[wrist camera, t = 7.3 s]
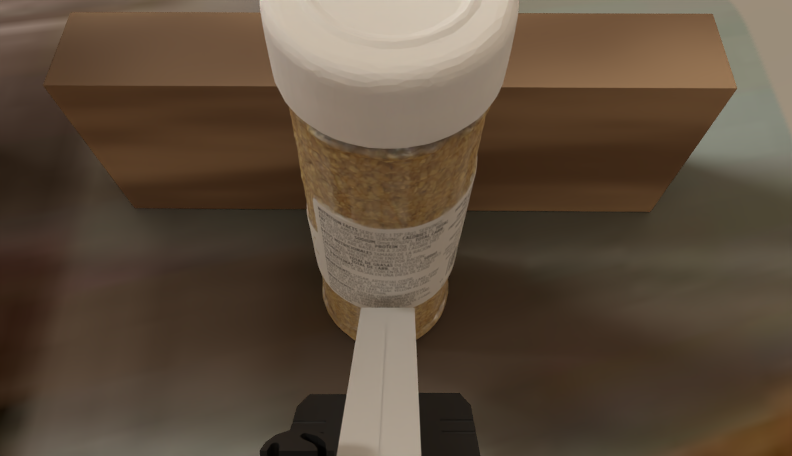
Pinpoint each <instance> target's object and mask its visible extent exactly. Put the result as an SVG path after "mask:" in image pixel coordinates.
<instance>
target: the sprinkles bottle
mask: <svg viewBox="0 0 792 456" xmlns="http://www.w3.org/2000/svg"><path fill="white" fill-rule="evenodd" d="M518 9H519V0H260V12H261V18H262V24H263V30H264V35H265V40H266V45H267V50H268V54H269V59H270V64H271V68H272V73H273V77H274V80H275V83H276V85H277V87H278V89H279V91H280V93H281V95H282V97H283V99H284V101H285V102H286V103H287V105H288V106H289V110H290V115H291V119H292V124H293V131H294V137H295V140H296V144H297V150H298V157H299V165H300V169H301V178H302V181H303V184H304V190H305V196H306V200H307V217H308V222H309V226H310V230H311V235H312V240H313V245H314V250H315V255H316V259H317V263H318V267H319V269H320V272H321V274H322V278H323V285H322V295H323V300H324V303H325V305H326V308H327V311H328V313H329V315H330V316H331V317H332V319H333V321H334V322H335V324H336V325H337V326H338V327H339V328H340V329H341V330H342V331H343V332H345V333H346V334H347V335H348V336H350V337H351V338H352V339H354V340H356V335H357V329H358V323H359V317H360V311H361V308H415V328H416V339H418V338H420V337H421V336H422V335H424V334H425V333H427V332H428V331H429V330H430V329H431V328H432V327H433V326H434V325H435V324H436V322H437V321H438V319H439V318H440V317H441V315H442V312H443V310H444V306H445V305H446V301H447V295H448V277H449V275H450V273H451V271H452V268H453V265H454V262H455V258H456V254H457V250H458V245H459V241H460V237H461V233H462V228H463V224H464V220H465V216H466V211H467V207H468V203H469V199H470V195H471V190H472V186H473V182H474V178H475V174H476V169H477V152H478V148H479V144H480V140H481V134H482V130H483V127H484V123H485V116H486V114H487V113H488V111H489V109H490V106H491V104H492V103H493V101H494V100H495V98H496V97H497V95H498V93H499V91H500V89H501V87H502V85H503V81H504V77H505V73H506V70H507V66H508V62H509V57H510V53H511V49H512V44H513V39H514V34H515V29H516V24H517V18H518Z"/></svg>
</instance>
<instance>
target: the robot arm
mask: <svg viewBox="0 0 792 456" xmlns="http://www.w3.org/2000/svg"><path fill="white" fill-rule="evenodd" d="M260 456H480V452H479V447H478V441H477V436H476V432H475V426H474V422H473V415H472V410H471V405H470V404H469V403H468V402H467V401H466V400H465V399H464V398H463V397H462V395H461V394H460V393H418V372H417V350H416V328H415V308H361V311H360V317H359V323H358V329H357V335H356V341H355V347H354V353H353V359H352V365H351V372H350V378H349V384H348V390H347V394H310V395H309V396H308V397H307V398H306V399H304V400H303V401H302V402H301V403H300V404H299V405H298V406H297V409H296V412H295V416H294V419H293V423H292V426H291V429H290V430H289V431H286V432H283V433H280V434H277V435H275V436H274V437H272V438H271V439H269V440H268V441H266V442H265V444H264V445H263V447H262V448H261V450H260Z"/></svg>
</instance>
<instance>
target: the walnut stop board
mask: <svg viewBox="0 0 792 456" xmlns="http://www.w3.org/2000/svg"><path fill="white" fill-rule="evenodd" d="M43 86H44V87H45V89H46V90H47V91H48V93H49V94H50V95H51V97H52V98H53V99H54V101H55V102H56V103H57V105H58V106H59V107H60V109H61V110H62V111H63V113H64V114H65V115H66V117H67V118H68V120H69V121H70V122H71V124H72V125H73V126H74V128H75V129H76V130H77V132H78V133H79V134H80V136H81V137H82V138H83V140H84V141H85V142H86V144H87V145H88V146H89V148H90V149H91V150H92V152H93V153H94V154H95V156H96V157H97V158H98V160H99V161H100V162H101V164H102V165H103V166H104V168H105V169H106V170H107V172H108V173H109V174H110V176H111V177H112V178H113V180H114V181H115V183H116V184H117V185H118V187H119V188H120V189H121V191H122V192H123V193H124V195H125V196H126V197H127V199H128V200H129V201H130V203H131V204H132V205H133V207H134V208H180V209H307V200H306V196H305V190H304V184H303V181H302V178H301V169H300V165H299V157H298V150H297V144H296V140H295V137H294V131H293V124H292V119H291V115H290V110H289V106H288V105H287V103H286V102H285V101H284V99H283V97H282V95H281V93H280V91H279V89H278V87H277V85H276V83H275V80H274V77H273V73H272V68H271V64H270V59H269V54H268V50H267V45H266V40H265V35H264V30H263V24H262V18H261V13H209V12H70V15H69V18H68V20H67V23H66V26H65V28H64V31H63V34H62V36H61V39H60V42H59V44H58V47H57V49H56V52H55V55H54V57H53V60H52V63H51V65H50V68H49V71H48V73H47V76H46V79H45V81H44V84H43ZM736 89H737V86H736V83H735V80H734V77H733V74H732V71H731V68H730V65H729V62H728V59H727V56H726V53H725V50H724V47H723V44H722V41H721V38H720V35H719V32H718V29H717V26H716V23H715V20H714V17H713V14H574V13H518V18H517V24H516V29H515V34H514V39H513V44H512V49H511V53H510V57H509V62H508V66H507V70H506V73H505V77H504V81H503V85H502V87H501V89H500V91H499V93H498V95H497V97H496V98H495V100H494V101H493V103H492V104H491V106H490V109H489V111H488V113H487V114H486V116H485V123H484V127H483V130H482V134H481V140H480V144H479V148H478V152H477V169H476V174H475V178H474V182H473V186H472V190H471V195H470V199H469V203H468V207H467V211H609V212H651V210H652V209H653V208H654V206H655V205H656V203H657V202H658V200H659V199H660V198H661V196H662V195H663V193H664V192H665V190H666V189H667V188H668V186H669V185H670V183H671V182H672V180H673V179H674V178H675V176H676V175H677V173H678V172H679V170H680V169H681V168H682V166H683V165H684V163H685V162H686V161H687V159H688V158H689V156H690V155H691V153H692V152H693V151H694V149H695V148H696V146H697V145H698V143H699V142H700V141H701V139H702V138H703V136H704V135H705V133H706V132H707V131H708V129H709V128H710V126H711V125H712V123H713V122H714V121H715V119H716V118H717V116H718V115H719V114H720V112H721V111H722V109H723V108H724V106H725V105H726V104H727V102H728V101H729V99H730V98H731V96H732V95H733V94H734V92H735V91H736Z"/></svg>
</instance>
